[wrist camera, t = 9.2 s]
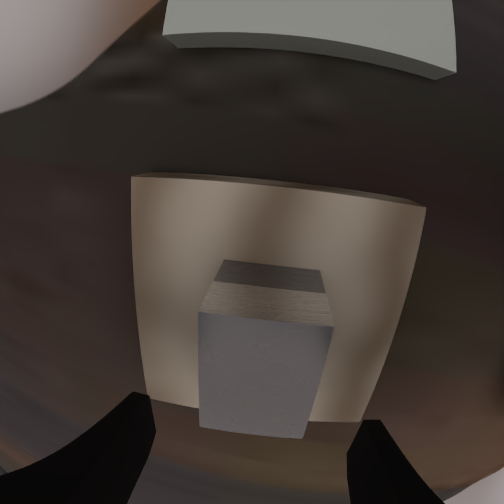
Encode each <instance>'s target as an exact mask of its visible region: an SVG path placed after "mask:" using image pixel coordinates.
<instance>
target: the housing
mask: <svg viewBox="0 0 504 504" xmlns="http://www.w3.org/2000/svg"><path fill="white" fill-rule="evenodd" d="M333 331H334V323H333V319H332V315H331V311H330V307H329V303H328V299H327V295H326V292H325V288H324V284H323V280H322V277H321V273H320V270H314V269H305V268H296V267H286V266H277V265H268V264H259V263H251V262H242V261H233V260H224V261H223V263H222V265H221V267H220V269H219V271H218V272H217V274H216V276H215V278H214V280H213V282H212V284H211V286H210V288H209V290H208V292H207V294H206V296H205V298H204V300H203V302H202V304H201V306H200V308H199V311H198V387H199V422H200V427H205V428H211V429H217V430H223V431H230V432H237V433H245V434H253V435H262V436H273V437H285V438H300V439H302V438H303V435H304V432H305V429H306V426H307V423H308V420H309V417H310V414H311V411H312V407H313V404H314V401H315V397H316V394H317V391H318V387H319V384H320V380H321V377H322V373H323V369H324V366H325V362H326V358H327V354H328V351H329V347H330V343H331V339H332V335H333Z"/></svg>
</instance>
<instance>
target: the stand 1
mask: <svg viewBox="0 0 504 504" xmlns="http://www.w3.org/2000/svg"><path fill="white" fill-rule="evenodd" d="M163 36H164V37H165V38H167V39H168V40H169V41H170V42H171V43H173V44H174V45H175V46H176V47H177V48H203V47H236V48H261V49H276V50H288V51H298V52H306V53H314V54H322V55H328V56H335V57H341V58H347V59H352V60H357V61H363V62H367V63H372V64H377V65H381V66H385V67H390V68H394V69H398V70H401V71H405V72H409V73H413V74H416V75H420V76H423V77H426V78H430V79H433V80H437V79H440V78H443V77H445V76H448V75H451V74H454V73H456V44H455V28H454V16H453V7H452V0H168V4H167V10H166V16H165V22H164V28H163Z"/></svg>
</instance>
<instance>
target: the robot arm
mask: <svg viewBox="0 0 504 504" xmlns="http://www.w3.org/2000/svg"><path fill="white" fill-rule="evenodd" d="M155 434H156V428H155V423H154V418H153V413H152V407H151V401H150V396H149V395H145V394H141V393H137V392H132V393H130V394H129V395H128V396H127V397H126V398H125V399H124V400H123V401H122V402H121V403H119V404H118V405H117V406H116V407H115V408H114V409H113V410H112V411H110V412H109V413H108V414H107V415H106V416H105V417H103V418H102V419H101V420H100V421H99V422H97V423H96V424H95V425H94V426H92V427H91V428H90V429H89V430H87V431H86V432H85V433H83V434H82V435H80V436H79V437H78V438H76V439H75V440H73V441H72V442H71V443H69V444H68V445H66V446H65V447H63V448H61V449H60V450H58V451H56V452H55V453H53V454H51V455H49V456H48V457H46V458H44V459H42V460H39V461H37V462H35V463H33V464H31V465H29V466H26V467H24V468H21V469H19V470H16V471H13V472H10V473H7V474H4V475H1V476H0V504H127V502H128V500H129V498H130V495H131V493H132V491H133V489H134V487H135V485H136V482H137V480H138V478H139V476H140V474H141V472H142V470H143V467H144V465H145V463H146V461H147V458H148V456H149V453H150V450H151V447H152V444H153V441H154V437H155ZM347 480H348V487H349V494H350V501H351V504H445V503H444V502H443V501H442V500H441V499H440V498H439V497H438V496H437V495H436V494H435V493H434V492H433V491H432V490H431V489H430V488H429V487H428V485H427V484H426V483H425V482H424V481H423V480H422V478H421V477H420V476H419V475H418V473H417V472H416V471H415V469H414V468H413V467H412V465H411V464H410V463H409V461H408V460H407V459H406V457H405V456H404V454H403V453H402V452H401V450H400V449H399V447H398V446H397V444H396V443H395V441H394V440H393V438H392V437H391V435H390V434H389V432H388V431H387V429H386V428H385V426H384V425H383V423H382V422H381V420H363V422H362V424H361V426H360V428H359V430H358V432H357V434H356V436H355V438H354V440H353V442H352V444H351V446H350V448H349V450H348V452H347Z"/></svg>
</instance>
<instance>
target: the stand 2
mask: <svg viewBox="0 0 504 504" xmlns="http://www.w3.org/2000/svg"><path fill="white" fill-rule="evenodd" d="M425 213H426V207H424V206H422V205H420V204H418V203H416V202H414V201H412V200H409V199H406V198H401V197H395V196H389V195H383V194H377V193H370V192H364V191H357V190H350V189H343V188H336V187H328V186H320V185H312V184H304V183H295V182H286V181H277V180H267V179H256V178H245V177H233V176H220V175H205V174H189V173H169V172H148V173H144V174H140V175H136V176H132V177H131V224H132V254H133V273H134V287H135V300H136V311H137V321H138V330H139V339H140V347H141V355H142V362H143V369H144V376H145V382H146V389H147V395H149V396H150V398H151V399H155V400H160V401H164V402H169V403H174V404H179V405H184V406H189V407H194V408H199V387H198V311H199V308H200V306H201V304H202V302H203V300H204V298H205V296H206V294H207V292H208V290H209V288H210V286H211V284H212V282H213V280H214V278H215V276H216V274H217V272H218V271H219V269H220V267H221V265H222V263H223V261H224V260H233V261H242V262H251V263H259V264H268V265H277V266H286V267H296V268H305V269H314V270H320V273H321V277H322V280H323V284H324V288H325V292H326V295H327V299H328V303H329V307H330V311H331V315H332V319H333V323H334V331H333V335H332V339H331V343H330V347H329V351H328V354H327V358H326V362H325V366H324V369H323V373H322V377H321V380H320V384H319V387H318V391H317V394H316V397H315V401H314V404H313V407H312V411H311V414H310V417H309V420H308V421H322V422H360V420H361V418H362V416H363V414H364V411H365V409H366V407H367V405H368V402H369V400H370V398H371V395H372V393H373V390H374V388H375V385H376V383H377V380H378V378H379V375H380V373H381V370H382V367H383V365H384V362H385V359H386V357H387V354H388V351H389V348H390V345H391V343H392V340H393V337H394V334H395V331H396V328H397V325H398V321H399V318H400V315H401V312H402V308H403V305H404V302H405V298H406V295H407V291H408V288H409V284H410V280H411V276H412V272H413V269H414V265H415V260H416V256H417V252H418V248H419V243H420V239H421V234H422V229H423V224H424V219H425Z"/></svg>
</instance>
